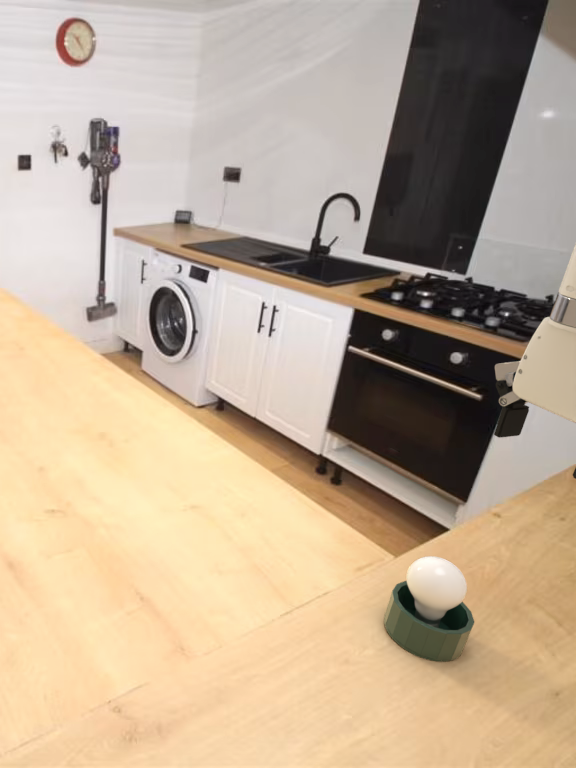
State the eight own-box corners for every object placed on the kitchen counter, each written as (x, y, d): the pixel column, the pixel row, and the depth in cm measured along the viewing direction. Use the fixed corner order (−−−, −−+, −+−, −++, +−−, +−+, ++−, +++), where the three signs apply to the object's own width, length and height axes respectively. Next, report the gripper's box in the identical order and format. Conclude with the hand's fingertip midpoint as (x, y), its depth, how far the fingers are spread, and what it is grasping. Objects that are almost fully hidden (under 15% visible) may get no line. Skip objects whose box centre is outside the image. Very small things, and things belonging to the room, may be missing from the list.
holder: (434, 608, 75) (445, 581, 73) (478, 663, 67) (491, 634, 65) (371, 607, 75) (379, 579, 73) (406, 662, 67) (417, 633, 65)
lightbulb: (389, 631, 71) (404, 562, 67) (404, 606, 75) (418, 539, 72) (446, 658, 67) (465, 586, 63) (458, 630, 71) (477, 560, 67)
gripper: (733, 338, 49) (654, 494, 56) (548, 293, 65) (505, 419, 72) (665, 343, 48) (594, 502, 55) (494, 296, 64) (455, 424, 71)
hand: (543, 455), depth 64 cm, fingers open, 9 cm apart
